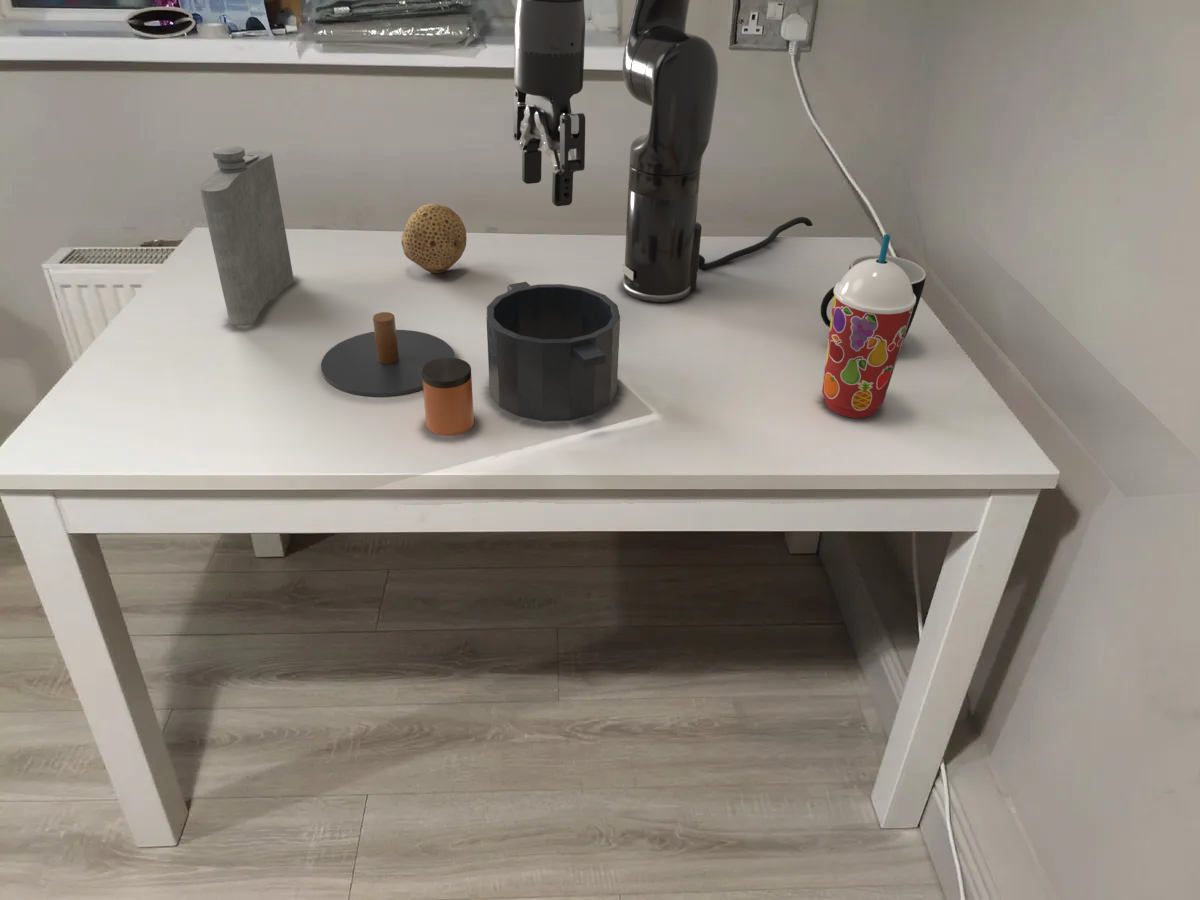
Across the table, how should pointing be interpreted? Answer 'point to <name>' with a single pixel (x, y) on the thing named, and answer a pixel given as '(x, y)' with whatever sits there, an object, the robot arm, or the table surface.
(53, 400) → the table surface
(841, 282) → the smoothie
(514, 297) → the pot
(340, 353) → the pot lid
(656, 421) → the table surface
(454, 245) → the natural sponge
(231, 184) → the hip flask
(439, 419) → the tea tin
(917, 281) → the mug
